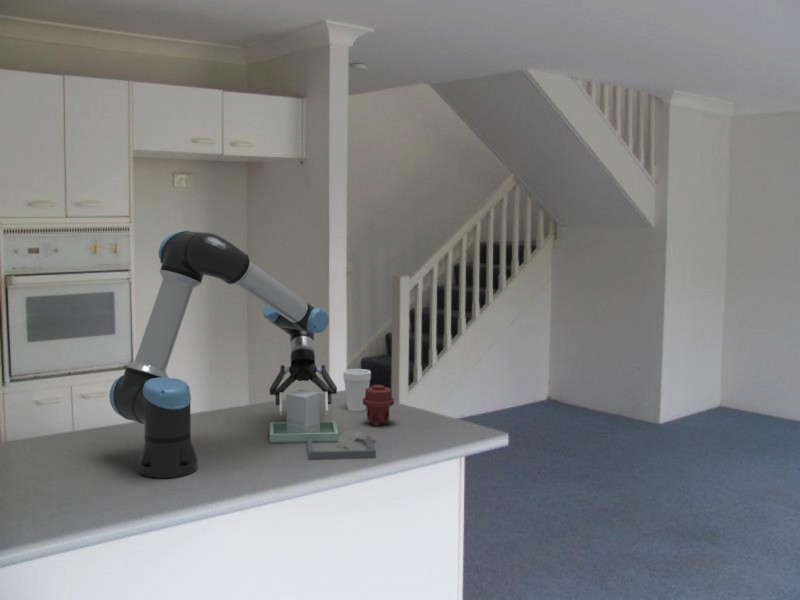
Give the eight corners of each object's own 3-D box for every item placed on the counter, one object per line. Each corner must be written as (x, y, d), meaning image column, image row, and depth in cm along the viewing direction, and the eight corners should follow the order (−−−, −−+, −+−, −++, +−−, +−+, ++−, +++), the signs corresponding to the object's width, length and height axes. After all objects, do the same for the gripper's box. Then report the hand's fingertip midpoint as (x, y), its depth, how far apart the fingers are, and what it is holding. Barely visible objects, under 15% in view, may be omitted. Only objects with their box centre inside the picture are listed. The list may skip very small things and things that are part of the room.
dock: (308, 459, 227) (308, 452, 227) (307, 444, 241) (307, 437, 241) (375, 457, 230) (375, 450, 229) (369, 442, 244) (370, 436, 244)
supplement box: (320, 433, 251) (320, 392, 249) (305, 439, 244) (305, 397, 243) (301, 429, 255) (301, 389, 253) (285, 435, 248) (285, 393, 247)
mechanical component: (396, 421, 269) (390, 429, 259) (366, 418, 271) (359, 426, 261) (397, 383, 267) (390, 390, 257) (367, 381, 269) (359, 388, 259)
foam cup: (340, 411, 280) (340, 373, 278) (346, 404, 289) (346, 368, 287) (367, 412, 278) (368, 374, 277) (373, 406, 287) (373, 369, 286)
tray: (269, 443, 241) (269, 435, 241) (270, 430, 255) (270, 422, 255) (338, 441, 244) (338, 433, 244) (335, 429, 258) (335, 420, 257)
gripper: (341, 360, 264) (344, 418, 251) (262, 361, 260) (261, 420, 247) (343, 347, 258) (346, 405, 245) (262, 347, 255) (261, 407, 242)
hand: (303, 413), depth 246 cm, fingers open, 13 cm apart
